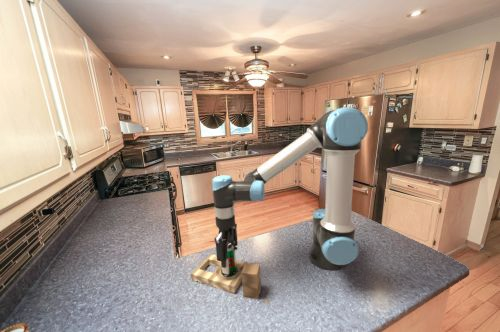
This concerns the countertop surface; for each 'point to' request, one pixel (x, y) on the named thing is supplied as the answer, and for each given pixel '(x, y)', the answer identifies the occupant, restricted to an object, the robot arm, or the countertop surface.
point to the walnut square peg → (251, 280)
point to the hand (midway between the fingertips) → (229, 268)
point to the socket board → (218, 275)
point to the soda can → (231, 259)
